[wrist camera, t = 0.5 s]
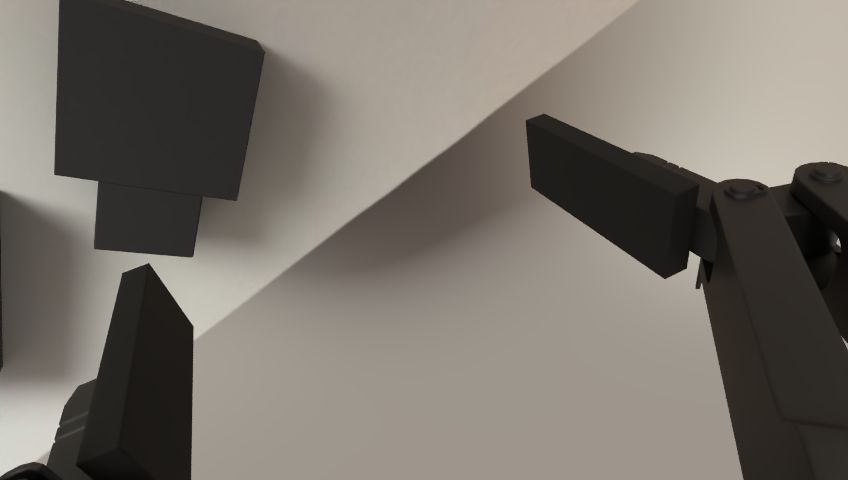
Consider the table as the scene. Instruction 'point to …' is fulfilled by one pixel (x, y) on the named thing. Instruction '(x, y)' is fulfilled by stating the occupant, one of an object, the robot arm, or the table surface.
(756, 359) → the robot arm
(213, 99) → the tongue pad
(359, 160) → the table surface
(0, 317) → the notch pad
